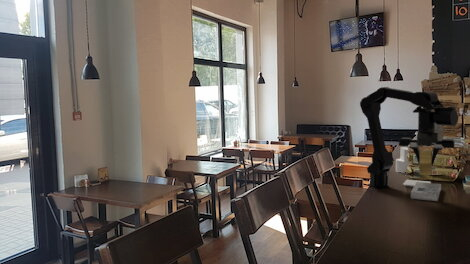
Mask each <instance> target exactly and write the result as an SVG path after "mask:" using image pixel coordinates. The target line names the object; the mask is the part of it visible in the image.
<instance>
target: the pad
mask: <svg viewBox="0 0 470 264" xmlns="http://www.w3.org/2000/svg"><path fill="white" fill-rule="evenodd" d="M416 182H423V183H432V182H431V181H427V180H416V179H405V181H404V182H403V183H402V186H405V187H414V186H415V184H416Z"/></svg>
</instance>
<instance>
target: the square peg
mask: <svg viewBox="0 0 470 264" xmlns="http://www.w3.org/2000/svg"><path fill="white" fill-rule="evenodd" d="M418 165H419V166H418V168H419V173H418V174H419V175H422V176H424V175H425V176H430V175H431V174H432V150H424V149H420V164H418Z"/></svg>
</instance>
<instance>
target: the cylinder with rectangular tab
mask: <svg viewBox="0 0 470 264" xmlns="http://www.w3.org/2000/svg"><path fill="white" fill-rule="evenodd" d="M399 147H400V150H399V151H400V155H399V158H396V159H395V172H396V173H398V172H401V173H400V174H406V173H405V172H406V169H407V166H408V164H409V162H408V159H407V153H408V146H399Z"/></svg>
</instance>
